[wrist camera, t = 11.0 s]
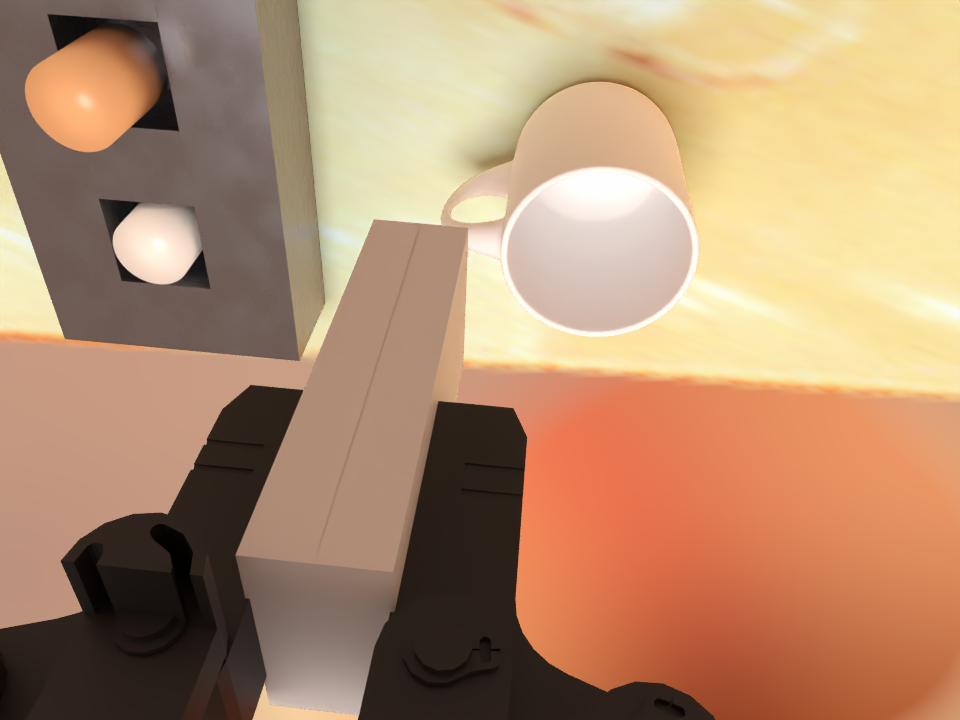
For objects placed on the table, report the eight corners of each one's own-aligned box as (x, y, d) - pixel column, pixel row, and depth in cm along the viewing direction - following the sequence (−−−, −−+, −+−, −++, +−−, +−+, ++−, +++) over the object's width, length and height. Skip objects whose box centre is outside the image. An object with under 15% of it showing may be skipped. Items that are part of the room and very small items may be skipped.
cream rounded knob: (145, 171, 45) (104, 214, 41) (216, 177, 45) (181, 221, 41) (160, 235, 47) (122, 280, 43) (226, 240, 47) (195, 287, 43)
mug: (443, 89, 42) (409, 179, 34) (678, 68, 40) (704, 159, 32) (464, 234, 47) (440, 343, 39) (673, 221, 46) (695, 334, 37)
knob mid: (72, 19, 37) (12, 55, 33) (157, 26, 36) (107, 62, 33) (94, 105, 39) (41, 148, 35) (175, 112, 39) (130, 155, 35)
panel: (-84, -393, 32) (-197, -412, 27) (261, -376, 31) (205, -393, 27) (111, 283, 52) (65, 338, 47) (325, 302, 51) (299, 360, 47)
